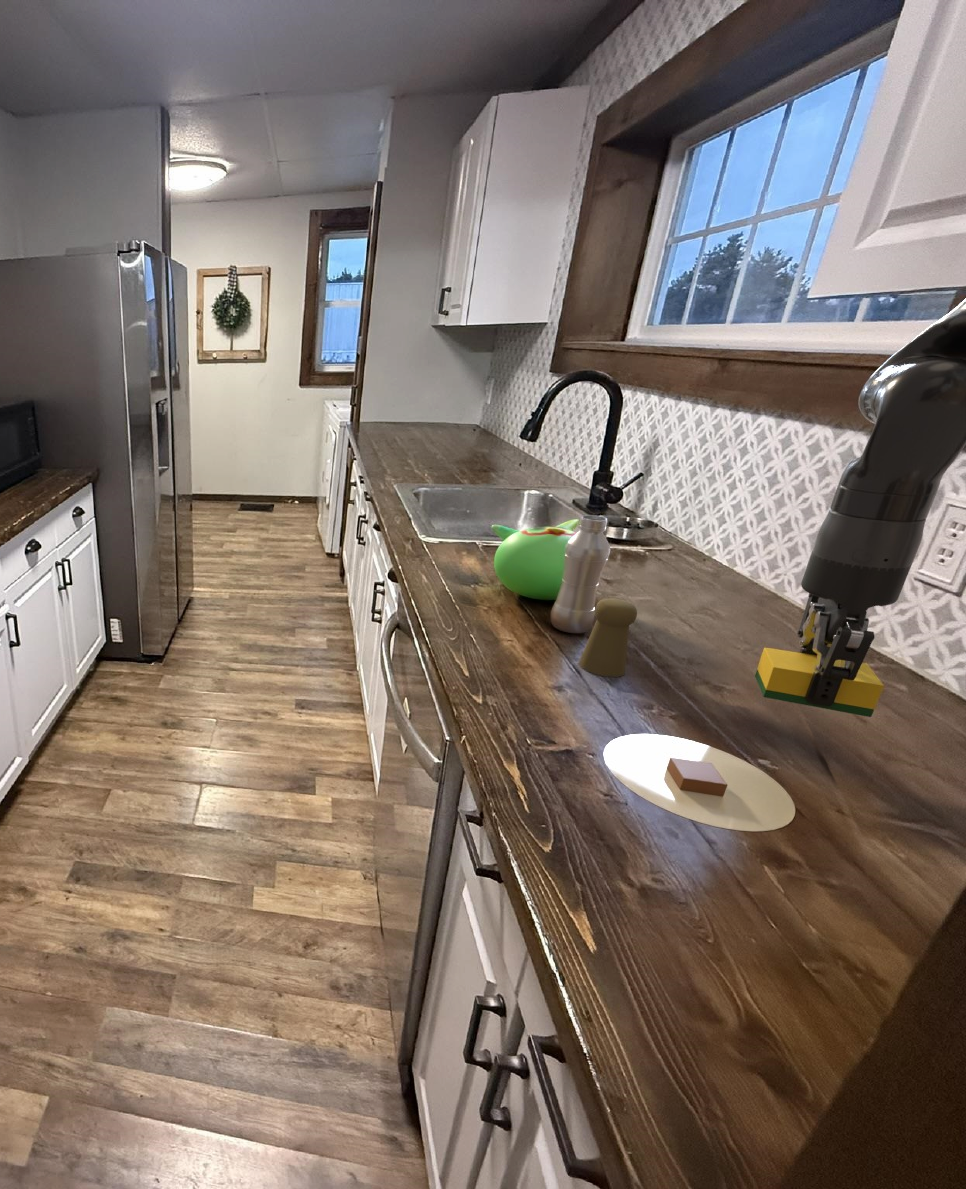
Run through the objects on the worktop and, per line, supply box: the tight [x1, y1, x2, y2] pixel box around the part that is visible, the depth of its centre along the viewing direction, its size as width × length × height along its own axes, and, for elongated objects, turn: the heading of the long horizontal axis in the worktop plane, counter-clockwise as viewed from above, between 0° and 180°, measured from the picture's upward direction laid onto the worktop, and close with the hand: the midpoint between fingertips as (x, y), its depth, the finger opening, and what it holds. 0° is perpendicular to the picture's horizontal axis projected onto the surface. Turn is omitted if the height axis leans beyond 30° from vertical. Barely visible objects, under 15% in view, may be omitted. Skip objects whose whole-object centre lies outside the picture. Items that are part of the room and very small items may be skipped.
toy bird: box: [491, 518, 580, 601], centre depth 122 cm, size 18×17×15 cm
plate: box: [603, 733, 796, 833], centre depth 71 cm, size 22×22×1 cm
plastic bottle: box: [550, 514, 611, 634], centre depth 106 cm, size 6×7×20 cm
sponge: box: [754, 646, 885, 718], centre depth 74 cm, size 9×6×4 cm, turn 57°
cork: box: [578, 597, 638, 678], centre depth 95 cm, size 6×6×11 cm
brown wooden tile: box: [667, 757, 727, 796], centre depth 70 cm, size 4×4×2 cm
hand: (810, 690), depth 74 cm, fingers closed on sponge, 6 cm apart
